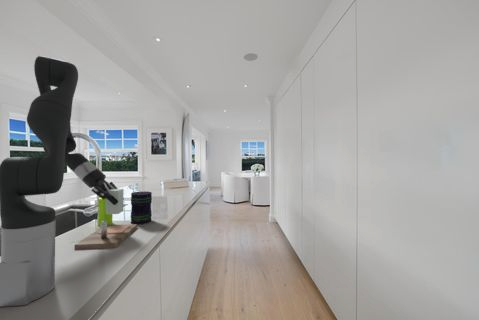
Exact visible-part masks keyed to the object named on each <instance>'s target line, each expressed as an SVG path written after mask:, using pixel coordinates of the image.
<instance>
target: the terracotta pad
mask: <svg viewBox="0 0 479 320" xmlns="http://www.w3.org/2000/svg"><path fill="white" fill-rule="evenodd" d="M128 227H129V226H108V227H107V234H113V233H122V232H123V231H124V230H126V229H127V228H128ZM98 234H101V232H99V233H98Z"/></svg>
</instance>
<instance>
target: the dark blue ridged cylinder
mask: <svg viewBox="0 0 479 320" xmlns="http://www.w3.org/2000/svg"><path fill="white" fill-rule="evenodd" d="M130 195H131V196H130V205H131V211H130V220H131V221H130V224H137V226H139V225H145V224H146V225H147V224H149V223H151V222H152V202H153V201H152V200H153V199H152V198H153V197H152V195H153V194H152V191H135V192H131V193H130Z"/></svg>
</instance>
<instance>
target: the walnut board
mask: <svg viewBox="0 0 479 320" xmlns="http://www.w3.org/2000/svg"><path fill="white" fill-rule="evenodd" d="M108 226H129V227H128V228H127V229H126V230H124V231H123V232H122V233H113V234H107V238H105V239H101V234H98V233H99V232H101V227H100V228H99V229H97V230H96V231H94V232H93V233H90V234H89V235H88V236H85V237H84V238H83V239H82V240H80V241H78V242H77V243H75V244H74V247H73V248H74V250H80V249H81V250H83V249H107V248H108V249H110V248H118V246H119V245H120V244H121V243H122V242H124V241H125V240H126V238H128V237H129V236H130V235H131V234H132V233H133V232H134V231H135V230H136V229H137V228H138V225H137V224H131V223H130V224H110V225H107V227H108Z"/></svg>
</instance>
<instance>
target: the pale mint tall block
mask: <svg viewBox="0 0 479 320" xmlns="http://www.w3.org/2000/svg"><path fill="white" fill-rule="evenodd" d="M109 192H110V193H111V194H112V196H114V197H115V198H116V199H117V200H118V203H117V204H116V205H113V204H112V203H111V202H110V201H109V200H108V199H106V214H112V215H119V214H121V213H123V212H124V200H123V198H124V194H125V193H124V192H125V190H124V188H118V189H110V191H109Z"/></svg>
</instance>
